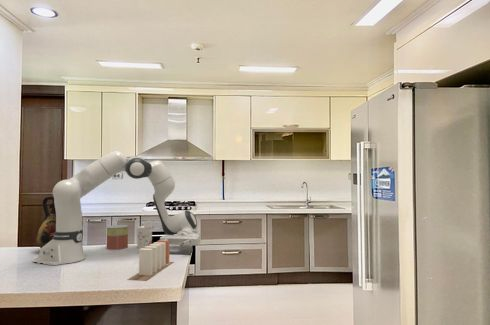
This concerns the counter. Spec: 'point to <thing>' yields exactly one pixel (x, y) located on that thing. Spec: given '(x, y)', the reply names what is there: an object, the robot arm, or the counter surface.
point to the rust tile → (166, 250)
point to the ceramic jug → (47, 224)
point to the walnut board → (147, 277)
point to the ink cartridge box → (144, 235)
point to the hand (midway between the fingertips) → (174, 243)
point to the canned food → (117, 237)
